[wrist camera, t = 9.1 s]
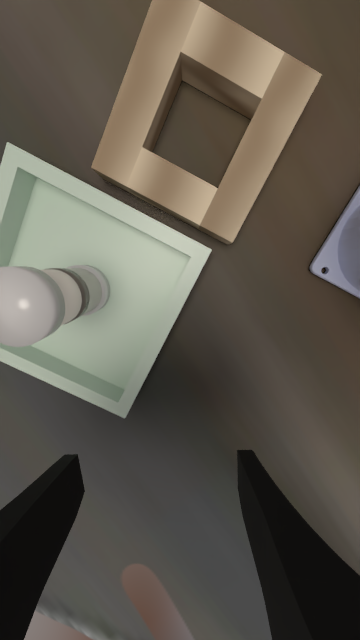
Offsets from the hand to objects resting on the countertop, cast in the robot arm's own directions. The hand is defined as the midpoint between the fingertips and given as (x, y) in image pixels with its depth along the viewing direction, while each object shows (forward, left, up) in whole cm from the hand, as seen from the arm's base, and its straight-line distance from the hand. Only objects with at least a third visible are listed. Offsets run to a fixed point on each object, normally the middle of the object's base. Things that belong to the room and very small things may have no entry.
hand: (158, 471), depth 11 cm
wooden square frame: (+6, -16, -10) cm, 20 cm away
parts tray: (+9, -3, -10) cm, 14 cm away
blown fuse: (+9, -3, -9) cm, 13 cm away
